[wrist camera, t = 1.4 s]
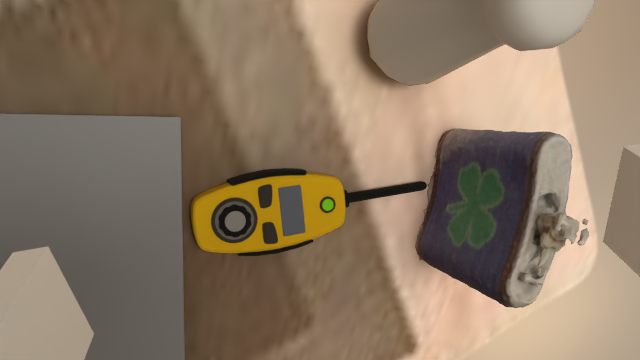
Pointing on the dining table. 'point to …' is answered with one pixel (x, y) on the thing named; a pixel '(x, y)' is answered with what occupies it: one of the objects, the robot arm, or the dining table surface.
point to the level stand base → (102, 221)
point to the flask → (498, 211)
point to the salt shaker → (464, 32)
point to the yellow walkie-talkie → (275, 210)
